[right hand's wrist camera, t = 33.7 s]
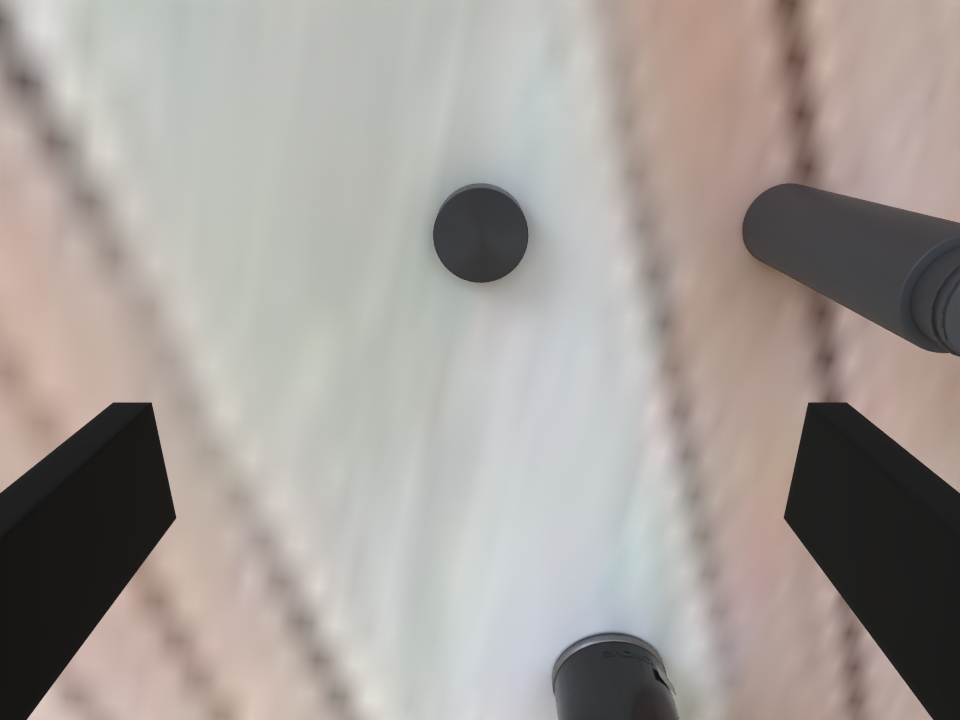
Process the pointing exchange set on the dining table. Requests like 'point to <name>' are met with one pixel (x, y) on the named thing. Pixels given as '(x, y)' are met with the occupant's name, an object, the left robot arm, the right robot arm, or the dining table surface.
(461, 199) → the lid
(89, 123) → the dining table surface
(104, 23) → the dining table surface
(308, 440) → the dining table surface
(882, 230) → the jar
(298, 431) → the dining table surface
